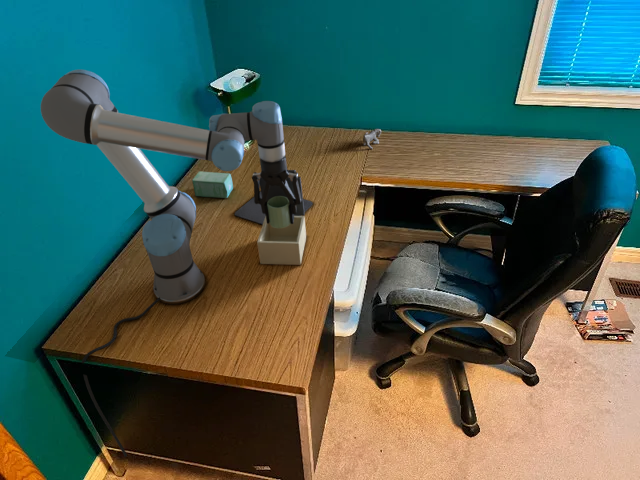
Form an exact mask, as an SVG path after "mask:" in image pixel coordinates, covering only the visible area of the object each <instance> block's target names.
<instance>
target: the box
mask: <svg viewBox="0 0 640 480" xmlns="http://www.w3.org/2000/svg"><path fill="white" fill-rule="evenodd" d="M191 181H192V186H193V191H194V196H195V197H203V198H204V197H205V198H218V199H228V198H229V196H230V194H231V193H232V191H233V189H234V184H233V178H232V174H231V173H227V172H212V171H200V170H199V171H198V172H197V173H196V175H195V176H194V177H193V178H192V179H191Z"/></svg>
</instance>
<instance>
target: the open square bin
mask: <svg viewBox="0 0 640 480" xmlns="http://www.w3.org/2000/svg"><path fill="white" fill-rule="evenodd" d="M306 241H307V229H306V216H305V215H304V216H294V223H293V224H290V225H289V226H287V227H284V228H275V227H272V226H271V225H270V223H269V224H267V221H266V216H265V219H264V223H263V225H262V226H261V229H260V231H259V235H258V239H257V241H256V245H257V250H258V256H259V262H260V265H284V266H285V265H289V266H291V265H292V266H301V265H302V262H303V261H302V260H303V255H304V251H305V245H306Z"/></svg>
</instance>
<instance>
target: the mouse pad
mask: <svg viewBox="0 0 640 480" xmlns="http://www.w3.org/2000/svg"><path fill="white" fill-rule="evenodd" d="M260 198H261V199H262V194H261V191H260ZM303 204H304V213H306V212H307V211H308V210H309V209H310V208H311V207H312V206H313V201H311V200H309V199H304V198H303ZM234 216H235V217H238V218H241V219H243V220H247V221H250V222H253V223H256V224H259V225H262V226H263V223H264V219H265V216H266V215H265V214H263V213H262V208H261V205H260V204H255V203H254V196H253V197H252V198H250V199H249V200H248V201H247V202H246V203H245V204H243V205H242V206H241V207H240V208H239V209H237V210H236V211H235V212H234ZM294 216H298V215H294Z"/></svg>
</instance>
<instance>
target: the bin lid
mask: <svg viewBox="0 0 640 480" xmlns="http://www.w3.org/2000/svg"><path fill="white" fill-rule="evenodd" d="M287 170H288V171H289V173H293V174H294V173H295V172H297V170H296V169H287ZM297 180H298V184H299V189H300V193H301V198H302V200H301V204H299V205H298V204H297V205H296V208H297V211H296V214H294V215H298V216H305V214H306V212H304V204H303V199H304V196H303V188H302V178H301V176H298V178H297ZM259 181H260V192H261V194H262V197H263V193H264V190H265V186H266V181H265V180H264V179H263V178H262V177H261V178H260V180H259ZM286 181H287V184H288V186H289V188H290V190H291V192H292V193H293V195H294V197H295V194H294V189H293V185H292V181H291V180H290V178H289V177H288V178H287V179H286ZM275 196H284V197H286V195H285V193H284V191H283V189H281V187H280V186H276V185H274V186H270V188H269V191H268V195H267V198H266V202H267V201H268V200H269V199H270V198H272V197H275ZM295 199H296V198H295ZM289 203H290V202H289ZM265 215H266V214H265Z"/></svg>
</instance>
